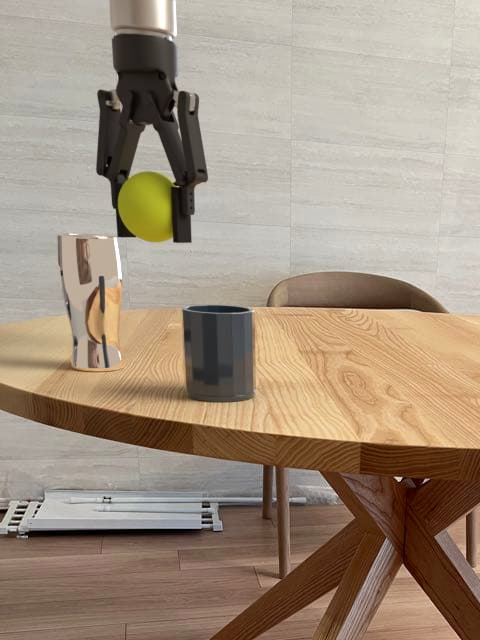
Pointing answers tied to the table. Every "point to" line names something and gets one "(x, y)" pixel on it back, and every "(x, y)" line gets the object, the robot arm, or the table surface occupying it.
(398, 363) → the table surface
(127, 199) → the ball
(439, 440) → the table surface
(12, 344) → the table surface
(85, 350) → the beer glass
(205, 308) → the cup
